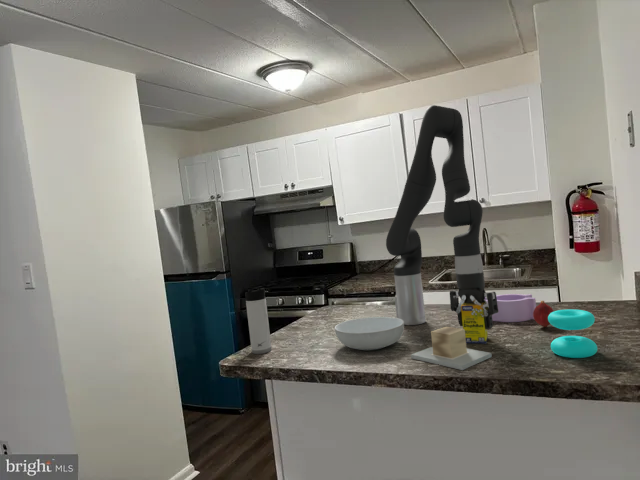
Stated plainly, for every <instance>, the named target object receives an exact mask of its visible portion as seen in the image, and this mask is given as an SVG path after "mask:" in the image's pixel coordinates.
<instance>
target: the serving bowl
mask: <svg viewBox="0 0 640 480" xmlns="http://www.w3.org/2000/svg"><path fill="white" fill-rule="evenodd" d="M404 328H405V325H404V321H403V320H402V319H399V318H397V317H393V316H369V317H368V316H367V317H360V318H355V319H349V320H348V319H347V320H346V321H341V322H340V323H338V324H336V325H335V326H334V332H335V333H334V334H335V335H336V338H337V340H338V341H339V342H340V343H341V344H342V345H344V346H346V347H347V348H350V349H354V350H360V351H375V350H376V351H377V350H380V349H381V350H382V349H384V348H385V347H388V346H392V345H393V344H395V343H396V342H398V340H400V339H401V338H402V335H403V334H404Z"/></svg>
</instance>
